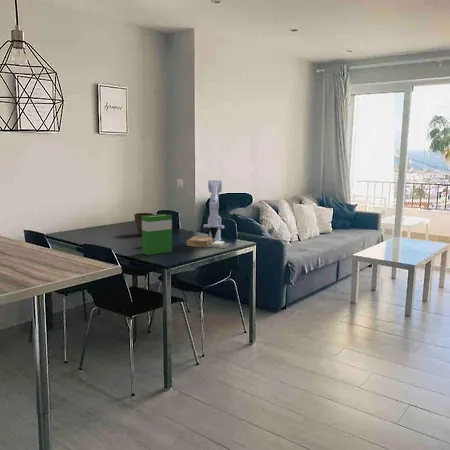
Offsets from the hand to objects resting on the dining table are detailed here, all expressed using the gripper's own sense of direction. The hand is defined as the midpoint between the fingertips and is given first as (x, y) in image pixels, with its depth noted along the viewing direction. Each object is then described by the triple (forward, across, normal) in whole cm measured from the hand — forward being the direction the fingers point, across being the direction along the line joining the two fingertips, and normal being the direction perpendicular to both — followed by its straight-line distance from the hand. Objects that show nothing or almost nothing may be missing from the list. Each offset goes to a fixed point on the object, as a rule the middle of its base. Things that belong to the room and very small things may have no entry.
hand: (213, 238), depth 328 cm
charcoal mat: (+5, +4, 0) cm, 6 cm away
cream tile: (+4, +4, 0) cm, 5 cm away
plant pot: (+5, -64, +22) cm, 68 cm away
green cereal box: (+5, -27, -34) cm, 44 cm away
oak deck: (+5, -10, 0) cm, 11 cm away
